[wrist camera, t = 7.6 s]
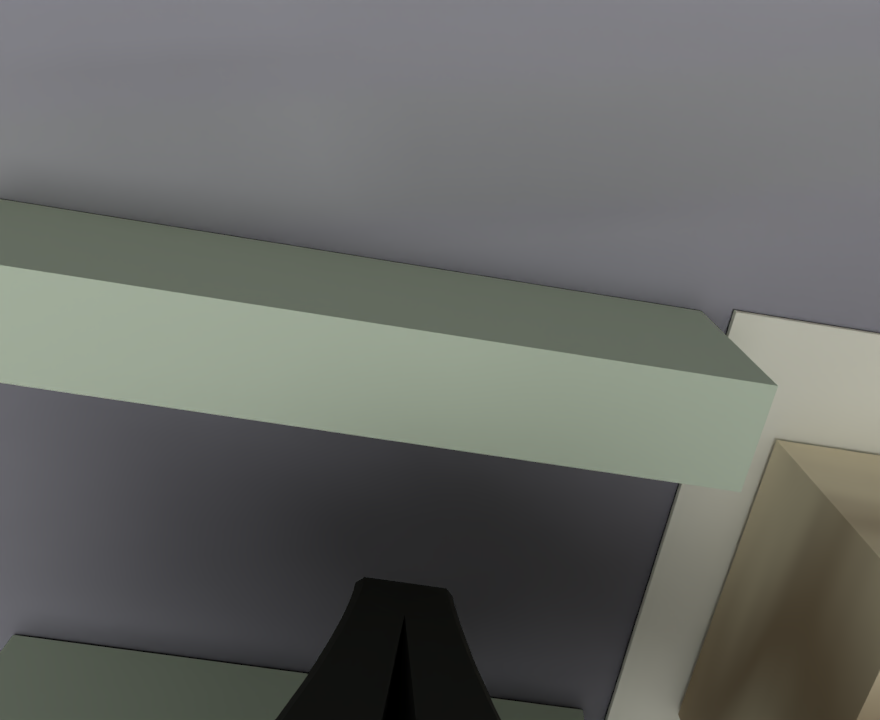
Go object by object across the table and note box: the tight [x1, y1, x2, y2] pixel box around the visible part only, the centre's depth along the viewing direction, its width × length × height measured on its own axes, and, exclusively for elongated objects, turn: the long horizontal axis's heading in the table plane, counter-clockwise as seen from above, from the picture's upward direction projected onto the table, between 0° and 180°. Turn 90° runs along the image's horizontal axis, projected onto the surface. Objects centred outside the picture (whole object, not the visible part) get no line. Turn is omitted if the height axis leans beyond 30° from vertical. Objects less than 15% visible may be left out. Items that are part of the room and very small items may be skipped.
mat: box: [605, 310, 880, 720], centre depth 14 cm, size 10×5×1 cm, turn 171°
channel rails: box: [0, 199, 778, 720], centre depth 12 cm, size 10×11×3 cm
